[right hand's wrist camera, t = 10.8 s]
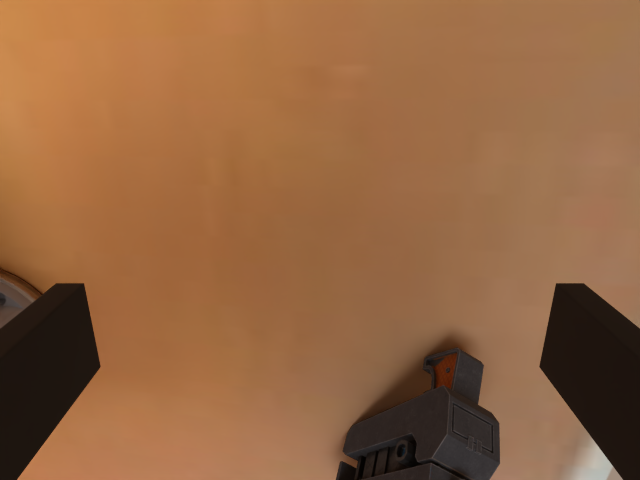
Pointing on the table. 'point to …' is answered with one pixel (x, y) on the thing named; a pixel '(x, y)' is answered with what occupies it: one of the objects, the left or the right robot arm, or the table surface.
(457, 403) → the tool
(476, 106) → the table surface
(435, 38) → the table surface
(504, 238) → the table surface
